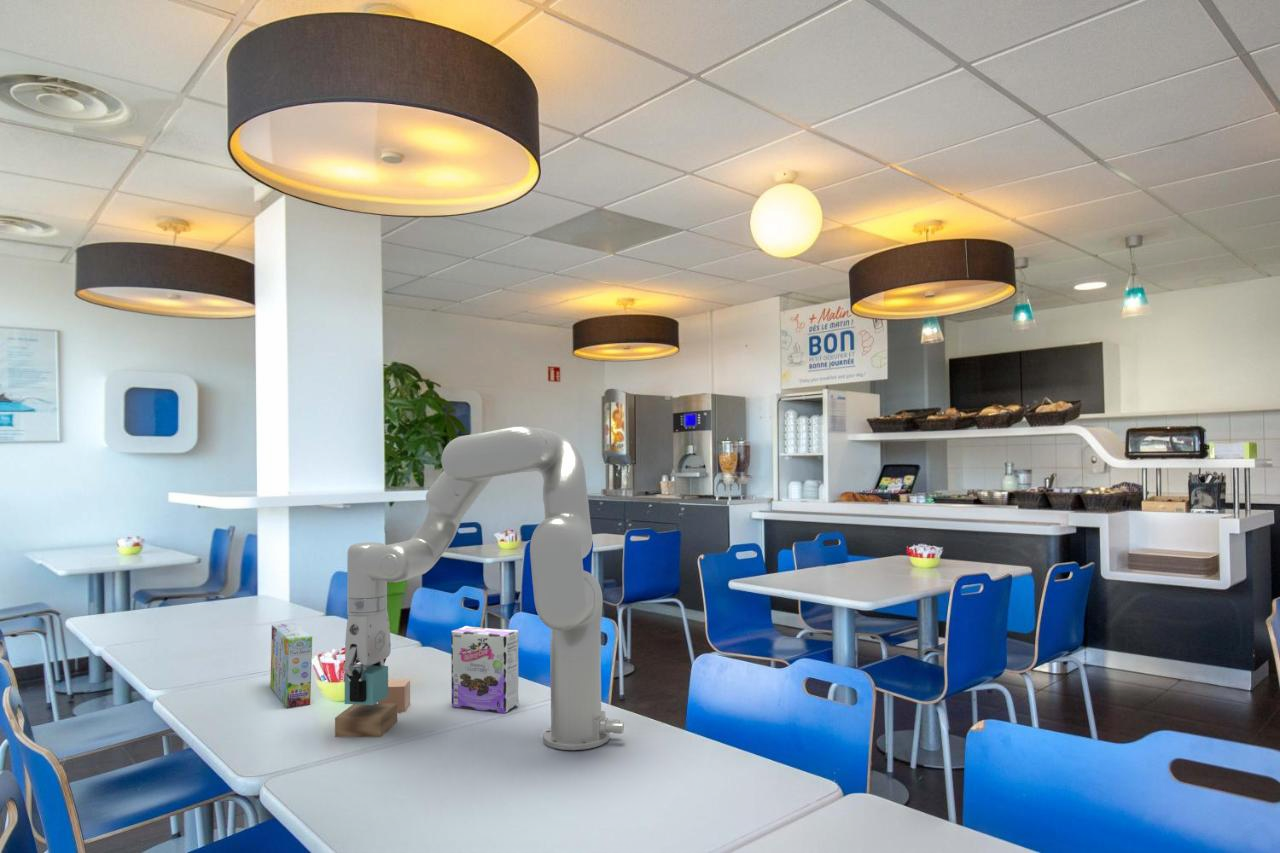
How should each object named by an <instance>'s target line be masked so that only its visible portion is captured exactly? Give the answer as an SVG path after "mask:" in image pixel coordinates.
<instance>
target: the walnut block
mask: <svg viewBox="0 0 1280 853" xmlns="http://www.w3.org/2000/svg"><path fill="white" fill-rule="evenodd" d="M396 723H398V713H397V703H378V702H377V703H376V704H374V705H357V704H350V706H349V707H348V708H346V709H344V710H343V711H342V712H340V713H339V714H338V715H336V716H335V717H334V737H335V738H381V737H382V736H384V735H385V734H386V733H387V732H388V731H389V730H390V729H392V727H394V726H395V724H396Z"/></svg>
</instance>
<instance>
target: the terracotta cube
mask: <svg viewBox="0 0 1280 853" xmlns="http://www.w3.org/2000/svg"><path fill="white" fill-rule="evenodd" d="M377 703H397V714H398V713H400V714H401V713H406V711H407V710H408V708H409V706H411V679H388V697H386V698H384V699H383V700H381V701H379V702H377Z"/></svg>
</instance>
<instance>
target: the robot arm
mask: <svg viewBox="0 0 1280 853" xmlns="http://www.w3.org/2000/svg"><path fill="white" fill-rule="evenodd" d="M441 454H442V455H441V461H440V462H441V466H442V469H443V471H442V472H441V473H440V475H439V476H438V477H437V479H435V481H434V482H433V483H432V485H431V486H430V488H429V489H428V490H427V492H426V494H425V500H426V503H427V504H428V511H427V512H428V513H427V515H426V517H425V519H424V521H423V522H422V523H421V525H420V527H418V529H417V531H416V532H415V533H414V534H413V536H412V537H411V538H410V539H409V540H404V541H400V542H399V541H398V542H395V543H390V544H384V543H382V542H376V541H375V542H372V541H370V542H359V543H358V542H357V543H353V544H352V545H350V546H349V547H348V549H347V557H346V559H347V561H346V562H347V563H346V564H347V566H346V568H347V570H346V571H347V572H346V574H347V576H346V578H347V579H346V581H347V586H346V587H347V591H346V592H347V593H346V594H347V597H346V599H347V600H346V609H347V610H346V614H347V622H346V628H345V631H346V632H345V640H344V641H345V643H344V644H345V645H344V646H345V647H344V657H345V661H344V664H343V666H342V670H343V671H344V673H347V676H348V681H350V701H351V702H364V701H366V681H364V677H365V672H366V666H367V667H368V666H386V665H385V663H386V661H387V658H389V656H390V654H391V653H392V652H391V650H392V648H391V645H392V644H391V629H390V627H391V626H390V616H389V612H388V582H389V583H399V582H404V581H407V580H410V579H412V578H415V577H419V576H422V575H424V574H427V572H429V571H430V570H431V569H432V568H433V567H435V565H436V563H437V562H438V561H439V560H440V558H441V557H442V556H443V554H444V553H445V552H446V550H447V549H448V548H449V547H450V545H451V543H452V542H453V540H454V539H455V536H456V534H457V532H458V529H459V527H460V525H461V521H462V519H463V518H464V517H465V514H466V513H467V512H468V510H469V509H470V508H471V506H472V505H473V504H474V503H475V501H476V499H477V498H478V497H479V496H480V495H481V493H482V492H483V490H484V489H485V488H486V487H487V486H488V484H489V483H490V482H491V480H492V479H493V477H500V476H505V475H510V474H518V473H519V474H520V473H530V472H531V473H532V472H539V474H541V476H542V478H543V479H542V480H543V482H542V483H543V484H542V500H543V501H542V502H543V507H544V520H542V521H541V522H539V524H537V526H536V527H535V529H534V531H533V532H532V536H531V539H530V546H529V554H530V556H529V557H530V566H531V567H530V568H531V576H532V577H531V578H532V580H531V581H532V586H533V587H532V588H533V599H534V606H535V609H536V612H537V616H538V617H539V619H540V621H541V622H542V623H543V624H544V625H545V626H546V627H548V628H549V629H550V631H551V632H550V651H549V653H550V654H549V655H550V656H549V657H550V658H549V659H550V662H549V663H550V669H549V670H550V728H547V729H546V730H545V731H544V732H543V734H542V742H543V744H544V745H547V747H549V748H553V749H556V750H563V751H581V750H583V751H584V750H589V749H590V750H591V749H593V748H597V747H600V746H603V745H604V744H607V742H608V741H609V740H610V738H611V734H616V735H617V734H624V728H625V726H624V725H625V724H624V722H621V720H620V719H609V718H608V717H606V711H605V710H602V674H601V673H602V671H601V670H602V663H601V655H602V653H601V649H602V647H601V646H602V644H601V643H602V642H601V637H602V636H601V634H602V633H601V631H602V618H603V617H602V615H603V605H604V602H603V598H604V597H603V591H602V588H601V585H600V582H599V581H598V579H597V578H596V577H595V576H594V575H593V574H592V573H590V572H589V571H586V570H584V564H583V559H584V558H586V557H587V556H588V555H589V554H590V552H591V549H592V546H593V541H594V540H593V532H592V531H593V530H592V525H591V523H592V522H591V516H590V504H589V497H588V489H587V481H586V478H587V477H586V472H585V465H584V461H583V458H582V456H581V454H580V452H579V450H578V448H577V447H576V445H575V444H574V443H573V442H572V441H571V440H570V439H568V438H566V437H565V436H563V435H562V434H560V433H558V432H555V431H553V430H549V429H545V428H542V427H541V428H540V427H533V426H532V427H531V426H523V425H522V426H518V425H517V426H510V427H506V428H499V429H496V430H490V431H485V432H479V433H473V434H468V435H467V434H466V435H460V436H457V437H456V438H454V439H452V440H451V441H450V442H448V443H447V444H446V446H445V447H444V448H443V452H442V453H441ZM356 668H361V669H360V674H359V672H358V671H357V670H356Z"/></svg>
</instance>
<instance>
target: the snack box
mask: <svg viewBox="0 0 1280 853" xmlns="http://www.w3.org/2000/svg"><path fill="white" fill-rule="evenodd" d="M270 641H271V642H270V644H271V648H270V649H271V650H270V681H269V682H270V686H269V687H270V689H271V690H272V691H273V692H274V693H275V695H276V697H278V699H279V700H280V701H281V703H282V704H283V705H284V706H285V708H287V709H288V708H296V707H301V706H309V705H311V691H312V689H311V688H312V658H313V657H312V656H313V655H312V654H313V636H312V635H311V634H310V633H309V632H307V631H305V630H304V629H303V628H302V627H301V626H299V625H297V624H296V623H295V622H293V621H291V622H283V623H275V624H271V640H270Z"/></svg>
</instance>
